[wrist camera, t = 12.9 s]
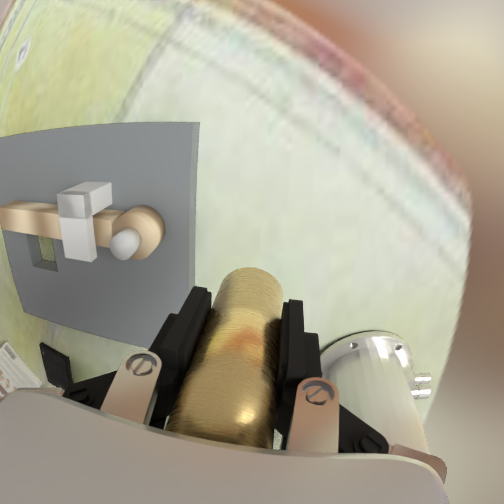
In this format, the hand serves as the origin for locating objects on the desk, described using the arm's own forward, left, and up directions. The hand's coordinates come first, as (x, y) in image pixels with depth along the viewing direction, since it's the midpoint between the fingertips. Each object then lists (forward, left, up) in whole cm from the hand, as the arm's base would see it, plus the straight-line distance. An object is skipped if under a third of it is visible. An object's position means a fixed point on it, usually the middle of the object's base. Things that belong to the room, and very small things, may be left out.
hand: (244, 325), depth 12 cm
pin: (0, 0, -2) cm, 2 cm away
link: (+18, +1, -13) cm, 23 cm away
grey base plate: (+19, +5, -16) cm, 25 cm away
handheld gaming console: (+30, +31, -16) cm, 46 cm away
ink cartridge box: (+43, +34, -16) cm, 57 cm away
